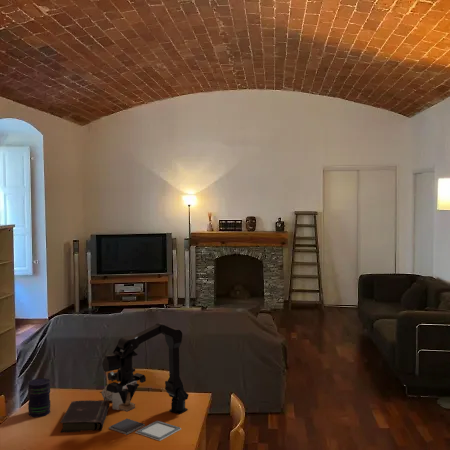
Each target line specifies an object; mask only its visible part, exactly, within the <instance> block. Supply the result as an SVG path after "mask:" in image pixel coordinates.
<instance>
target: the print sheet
mask: <svg viewBox="0 0 450 450" xmlns="http://www.w3.org/2000/svg"><path fill="white" fill-rule="evenodd" d="M181 430H182V428H181V427H180V426H176V425H173V424H170V423H166V422H163V421H161V420H155V421H153V422H152V423H149V424H148V425H145V426H143V427H141V428H139V429H137V430H135V431H134V432H135V433H136V434H138V435H141V436H143V437H146V438H150V439H153V440H156V441H163V440H165V439H166V438H168V437H170V436H171V435H173V434H175V433H177V432H179V431H181Z"/></svg>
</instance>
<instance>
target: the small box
mask: <svg viewBox="0 0 450 450" xmlns="http://www.w3.org/2000/svg"><path fill="white" fill-rule="evenodd" d="M126 389H128V388H127V386H126ZM111 403H112V405H111V406H112V410H115V411H116V410H117V411H119V405H120V404H122V403H123V402H122V399H121V396H120V394H119V392H118V393H113V392H112V401H111Z"/></svg>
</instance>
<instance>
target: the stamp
mask: <svg viewBox="0 0 450 450" xmlns="http://www.w3.org/2000/svg"><path fill="white" fill-rule="evenodd" d="M134 409H136V403H133V402H131V401H130V392H128V393H127V398H126V403H125V404H124V403H122V404H120V405H119V410H120V411H123V412H126V413H128V412H130V411H132V410H134ZM119 410H118V411H119Z"/></svg>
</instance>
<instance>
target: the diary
mask: <svg viewBox="0 0 450 450" xmlns="http://www.w3.org/2000/svg"><path fill="white" fill-rule="evenodd" d="M109 408H110V401H106V400H105V401H104V400H89V399H88V400H86V399H85V400H73V401H71V403H70V404H69V406H68V408H67V409H66V412H65V413H64V415H63V417H62V418H61V420H60V422H59V423H60V424H62V428H61V430H60V431H59V432H60V433H63V434H64V433H80V432H81V431H82V432H84V431H86V432H87V431H96V432H97V431H98V430H99V428H100V427H101V428H100V431H102V430H103V427H104V425H105V424H104V423H105V421H106V419H107V415H108V412H109ZM95 429H96V430H95Z"/></svg>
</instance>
